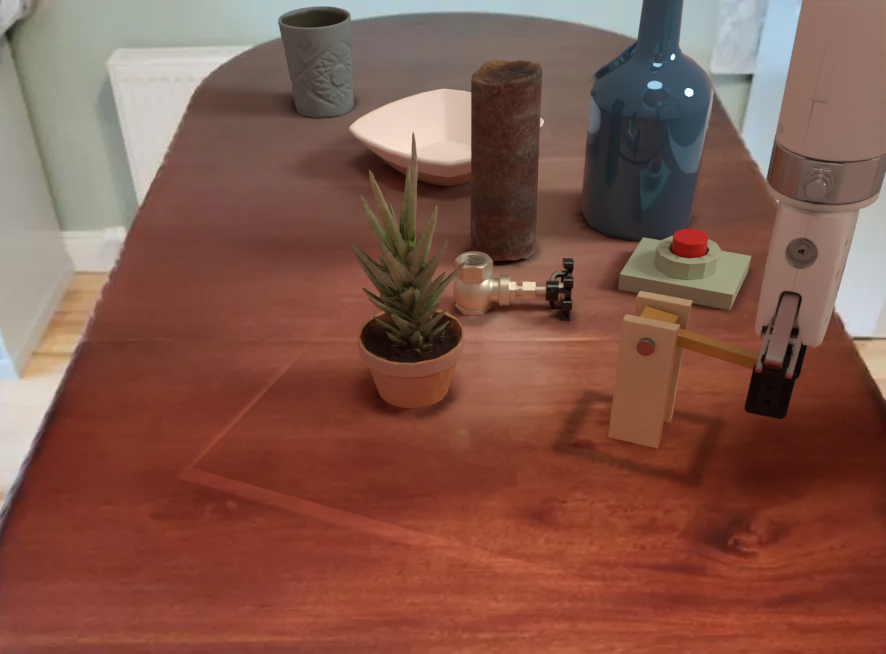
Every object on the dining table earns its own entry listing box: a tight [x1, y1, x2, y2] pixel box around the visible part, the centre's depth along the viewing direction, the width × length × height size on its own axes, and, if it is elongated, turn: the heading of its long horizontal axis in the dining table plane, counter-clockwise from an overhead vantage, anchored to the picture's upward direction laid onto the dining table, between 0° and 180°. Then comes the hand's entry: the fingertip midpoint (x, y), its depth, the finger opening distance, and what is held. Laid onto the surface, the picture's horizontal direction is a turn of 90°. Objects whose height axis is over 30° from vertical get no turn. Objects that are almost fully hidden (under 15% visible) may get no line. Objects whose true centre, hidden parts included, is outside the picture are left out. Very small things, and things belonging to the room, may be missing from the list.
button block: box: [617, 235, 752, 311], centre depth 107 cm, size 12×9×4 cm
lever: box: [640, 306, 791, 370], centre depth 80 cm, size 12×5×2 cm, turn 66°
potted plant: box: [351, 132, 466, 409], centre depth 85 cm, size 10×10×25 cm
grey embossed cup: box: [277, 5, 355, 119], centre depth 143 cm, size 10×10×12 cm
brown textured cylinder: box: [470, 59, 543, 262], centre depth 106 cm, size 8×7×20 cm
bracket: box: [608, 291, 693, 449], centre depth 84 cm, size 12×9×13 cm
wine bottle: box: [580, 0, 715, 242], centre depth 108 cm, size 14×13×30 cm
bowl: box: [348, 88, 545, 187], centre depth 130 cm, size 22×22×5 cm
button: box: [671, 228, 709, 258], centre depth 105 cm, size 4×4×2 cm
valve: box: [452, 250, 575, 322], centre depth 101 cm, size 7×7×12 cm
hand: (772, 391), depth 80 cm, fingers closed on lever, 5 cm apart
